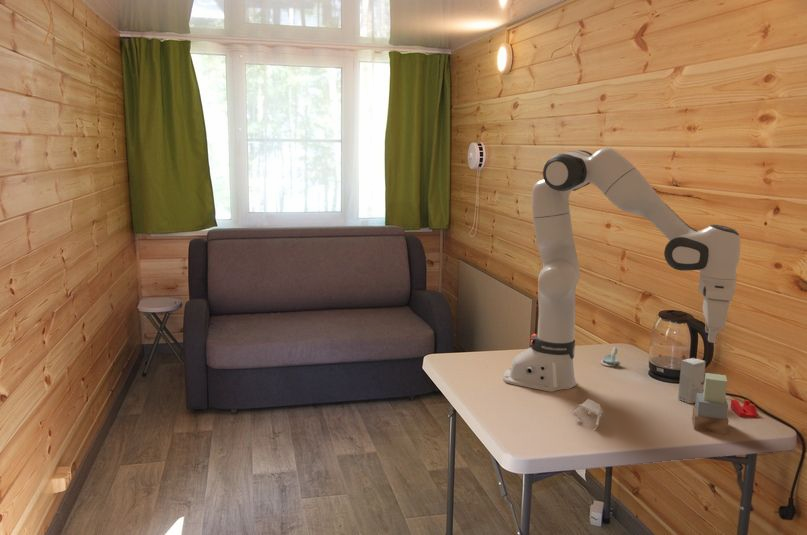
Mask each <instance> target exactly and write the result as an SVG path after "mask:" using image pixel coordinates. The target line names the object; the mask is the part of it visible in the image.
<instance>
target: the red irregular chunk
mask: <svg viewBox="0 0 807 535" xmlns="http://www.w3.org/2000/svg"><path fill="white" fill-rule="evenodd" d="M730 400H731V401H730V410H732V411H734V413H736V414H737V416H738V417H739V418H750V419H751V418H755V419H756V418H757V419H758V412H757V407H756V405H755V404H753V403H751V401H750V400H749V399H744V400H743V405H741V404H740V402H739V401H738V400H737V398H736V399H732V398H731V399H730Z"/></svg>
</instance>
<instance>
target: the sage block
mask: <svg viewBox="0 0 807 535" xmlns="http://www.w3.org/2000/svg"><path fill="white" fill-rule="evenodd" d="M727 386H728V380H727V375H726V374H725V375H724V374H718V373H710V372H705V374H704V384H703V396H704V400H706V401H713V402H720V403H725V398H726V397H727V395H726V394H727Z"/></svg>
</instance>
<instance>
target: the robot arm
mask: <svg viewBox="0 0 807 535" xmlns="http://www.w3.org/2000/svg"><path fill="white" fill-rule="evenodd" d="M542 175H543V176H542V177H543V178H542V179H540V180H538V181H536V182H535V183H534V184H533V187H532V189H531V190H532V192H531V209H532V210H531V211H532V219H533V228H534V236H535V243H536V246H537V249H538V251H539V256H540V260H541V265H542V269H541V271H539V274H538V279H537V301H538V321H537V323H538V324H537V333H533V334H531V336H530V343H529V346H530V347H528V348H527V349H525V350H524V351H521V353H518V354H517V355H516V356H515V357H514V358H513V360H512V362H511V365H510V366H511V367H509V368H507V369H506V370H505V371H504V373H503V376H502V377H503V378H502V380H503V379H504V380H503V382H504V383H505V384H510V385H516V386H520V387H525V388H530V389H535V390H540V391H544V392H551V393H552V392H556V391H560V390H567V389H571V388H573V387H575V386H576V385H577V380H576V377H575V371H574V370H575V369H574V368H575V367H574V358H575V353H576V339H575V328H576V326H575V324H576V288H577V284H578V283H579V281H580V277H581V270H580V264H579V260H578V259H579V258H578V254H577V249H576V246H575V240H574V233H573V227H572V226H573V225H572V218H571V211H570V210H571V209H570V203H569V202H570V201H569V198H570V197H569V196H570V194H571V193H572V192H575V191H578V190H579V189H582V188H584V187H587V186H588V185H590V184H592V185H594V186H596V187H597V188H598V189H599V190H600V191H601V193H602V194H603V195H604V196H605V197H606V198H607V199H608V201H610V202H611V204H613V205H614V206H616V207H617V209H619V210H621V211H623V212H625V213H628V214H633V215H637V216H640V217H642V218H644V219H646V220H647V221H649V222H650V223H651V224H652V225H654V226H655V227H656V229H658V231H660V232H661V233H662V234H663V236H665V237H666V238H667V239H668V240H669V241H668V242H667V244H666V245H665V248H664V251H663V252H664V253H663V254H664V260H665V262H666V264H667V265H668V266H670V267H671V268H672V269H673V270H677V271H682V272H683V271H684V272H686V271H687V272H688V271H699V279H698V286H697V287H698V288H697V291H698V293H701V294H702V296H701V297H702V299H703V303H702V313H703V316H704V319H705V321H704V322H705V327H704V332H705V333H706V334H708V335H707V341H708V343H713V344H715V343H716V341H717V335H718V333H719V330H720V331H721V330H723V329H724V327H725V325H726V321H727V317H728V314H729V313H728V312H729V309H730V302H733V298H734V296H735V291H736V283H737V279H738V278H737V277H738V275H737V267H738V265H739V263H740V254H741V236H740V234H739V232H738V231H737V230H735V229H734V228H732V227H730V226H729V227H728V226H725V225H719V224H711V225H709V226H707V227H705V228H703V229H700V230H698V229H695V228H693V227H691V226H690V225H689V224H687V223H686V222H685V221H684V220H683V219H682V218H681V217H680V216H678V215H677V213H676V212H675V211H674V210H673V209H672V208H671V207H670V206H669V205H668V204H667V203H666V202H664V200H663V199H662V198H661V197H660V195H658V193H657V192H656V191H655V189H654V188H653V187H652V185H651V184H650V182H648V180H647V179H646V177H645V176H644V175H643V174H642V173H641V172H640V171H639V170H638V169H637V168H636V166H634V165H633V163H631V161H630V160H628V159H627V158H626V157H625V156H623V155H622V154H621V153H619V152H618V151H617V150H615V149H613V148H612V147H602V148H601V149H600V148H599V149H598V150H596V151H595V152H594V153H593V154H592V153H591V152H589V151H587V150H580V149H579V150H570V151H566V152H562V153H558V154H555V155H553V156H551V157H550V158H549V159H548V160H547V161H546V163H545V164H544V166H543V169H542Z"/></svg>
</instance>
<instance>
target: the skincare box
mask: <svg viewBox="0 0 807 535" xmlns="http://www.w3.org/2000/svg"><path fill="white" fill-rule="evenodd" d="M706 362H707V361H706V360H702V359H699V358H695V357H691V358H686V359H682V360H681V362H680V364H681V365H680V374H679V384H678V395H677V396H678V397H677V400H679V399H680V400H679V401H681V400H682V402H683V401H685V403H686V402H687V404H689V403H691V404H694V403H695V402H696V393H703V391H704V382H705V373H706Z"/></svg>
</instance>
